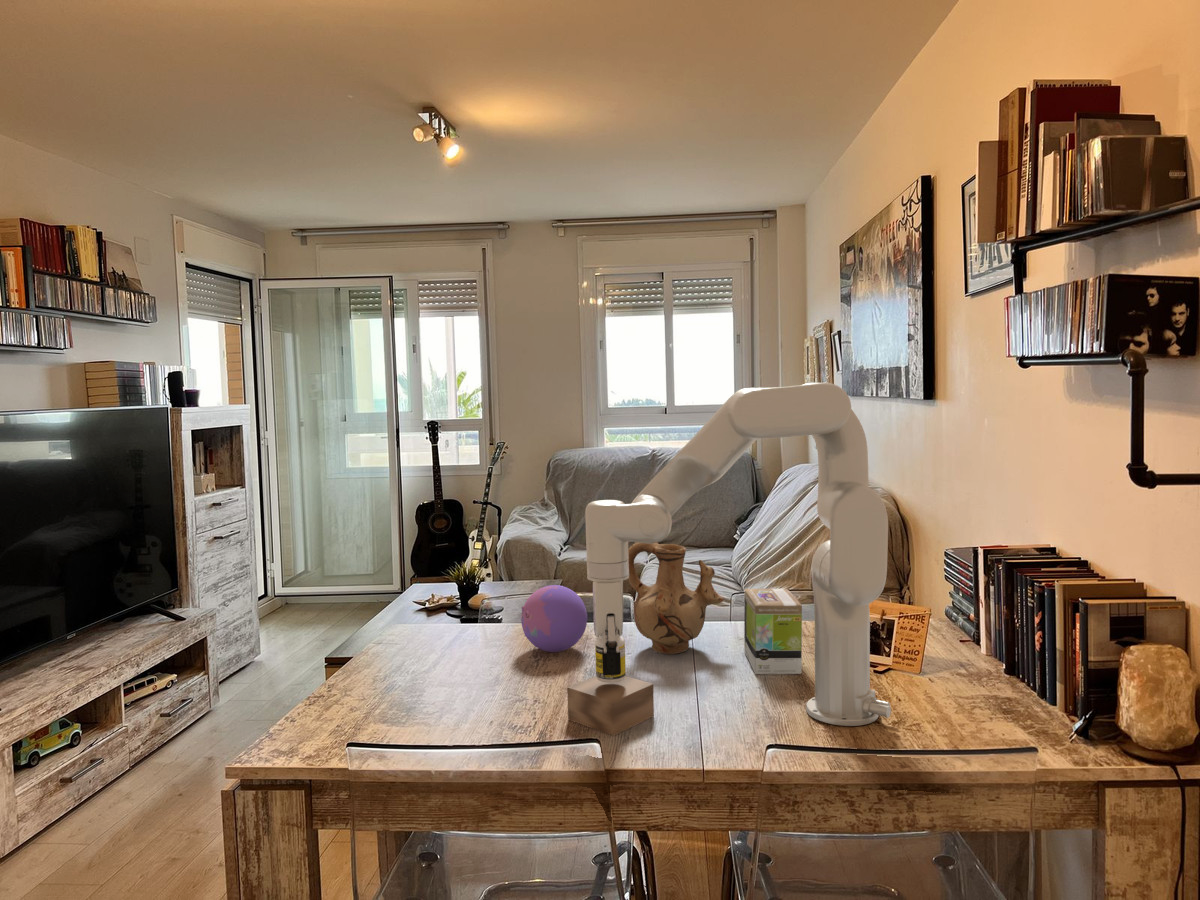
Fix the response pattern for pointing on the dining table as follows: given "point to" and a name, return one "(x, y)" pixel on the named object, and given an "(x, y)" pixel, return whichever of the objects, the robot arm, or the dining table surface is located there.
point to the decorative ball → (554, 618)
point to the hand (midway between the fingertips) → (610, 667)
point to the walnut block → (610, 704)
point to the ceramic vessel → (670, 599)
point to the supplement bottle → (599, 665)
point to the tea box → (773, 631)
